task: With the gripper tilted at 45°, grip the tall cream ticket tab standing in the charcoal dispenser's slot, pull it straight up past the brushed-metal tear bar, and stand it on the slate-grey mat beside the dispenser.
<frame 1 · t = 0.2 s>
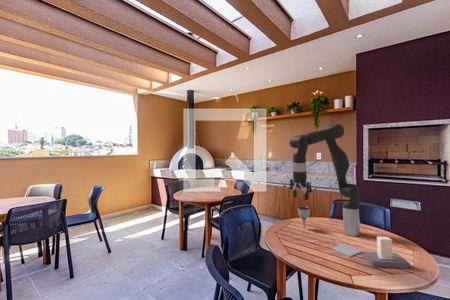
hand: (300, 198, 125), 29 cm above the table, tool pointing down, fingers open, 8 cm apart
mat: (346, 250, 122), on the table
dispenser: (385, 261, 109), on the table
ticket: (385, 262, 109), resting in dispenser
wine glass: (304, 229, 157), on the table
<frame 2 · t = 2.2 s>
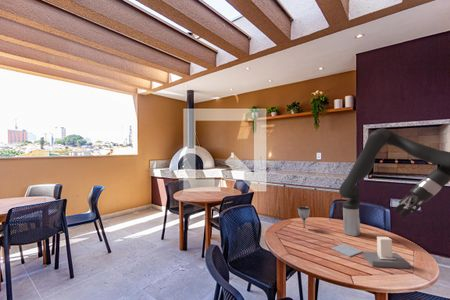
hand: (398, 213, 107), 25 cm above the table, tool tilted 40°, fingers open, 8 cm apart
nothing on the table moved.
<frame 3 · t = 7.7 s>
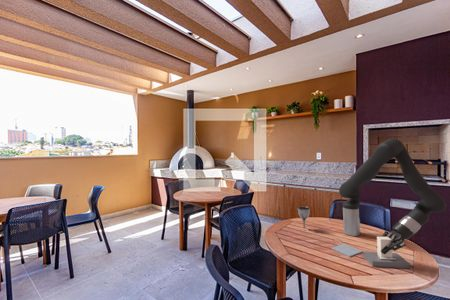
hand: (380, 250, 109), 6 cm above the table, tool tilted 45°, fingers closed on ticket, 3 cm apart
ticket: (385, 262, 109), resting in dispenser, touching gripper
everything else where it was.
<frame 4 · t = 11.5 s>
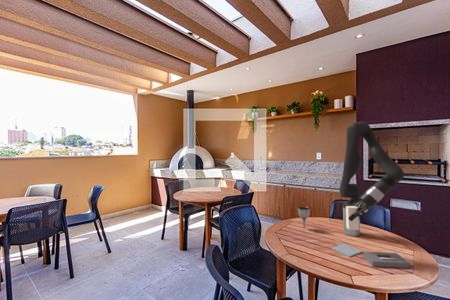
hand: (348, 218, 120), 19 cm above the table, tool tilted 45°, fingers closed on ticket, 3 cm apart
ticket: (352, 228, 120), point 13 cm above the table, touching gripper
everything else where it was.
when the fingers open (9 cm above the table, at t = 15.3 s): ticket drops 3 cm, resting on mat.
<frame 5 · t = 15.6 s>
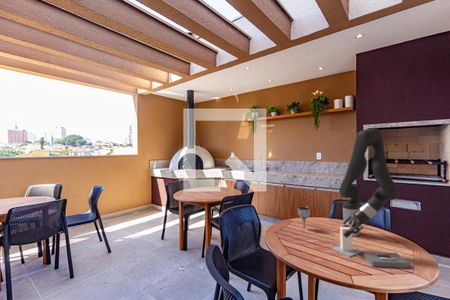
hand: (342, 233, 122), 9 cm above the table, tool tilted 45°, fingers open, 6 cm apart
ticket: (346, 249, 122), point 1 cm above the table, touching mat
everything else where it was.
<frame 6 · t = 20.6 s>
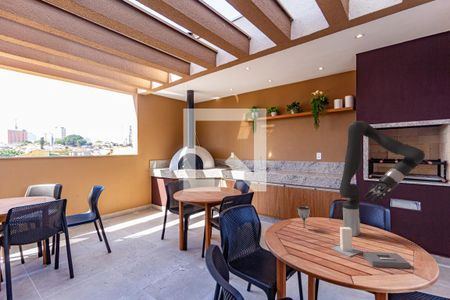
hand: (369, 199, 120), 29 cm above the table, tool tilted 45°, fingers open, 8 cm apart
nothing on the table moved.
at the end: ticket inside the target area on the mat (0.1 cm from its centre), point 0.6 cm above the mat's base; the gripper is holding nothing; ticket moved 17.8 cm from its start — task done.
